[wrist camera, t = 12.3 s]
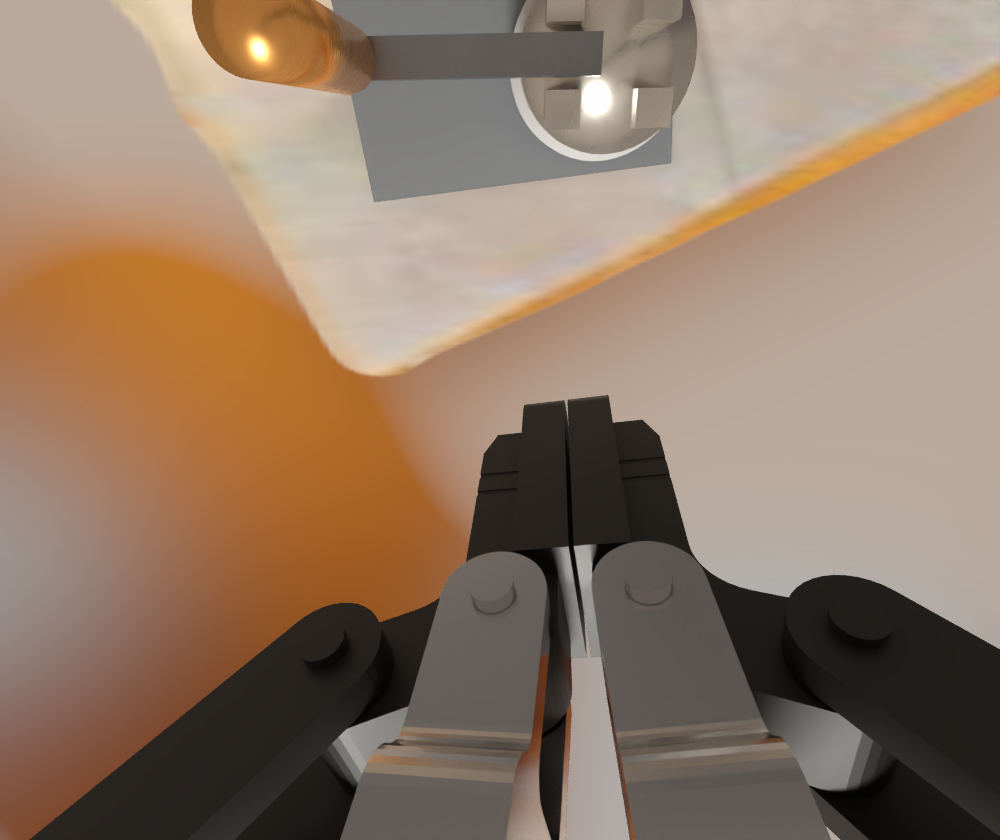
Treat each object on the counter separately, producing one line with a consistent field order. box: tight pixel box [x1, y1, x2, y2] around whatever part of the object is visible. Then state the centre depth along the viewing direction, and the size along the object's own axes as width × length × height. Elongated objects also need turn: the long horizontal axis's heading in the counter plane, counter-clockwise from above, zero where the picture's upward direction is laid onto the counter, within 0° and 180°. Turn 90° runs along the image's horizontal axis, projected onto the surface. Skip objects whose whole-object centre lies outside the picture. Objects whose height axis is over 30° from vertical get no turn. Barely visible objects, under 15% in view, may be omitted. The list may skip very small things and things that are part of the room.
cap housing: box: [331, 0, 672, 202], centre depth 34 cm, size 20×14×5 cm
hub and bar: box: [192, 0, 697, 154], centre depth 24 cm, size 19×9×16 cm, turn 91°
